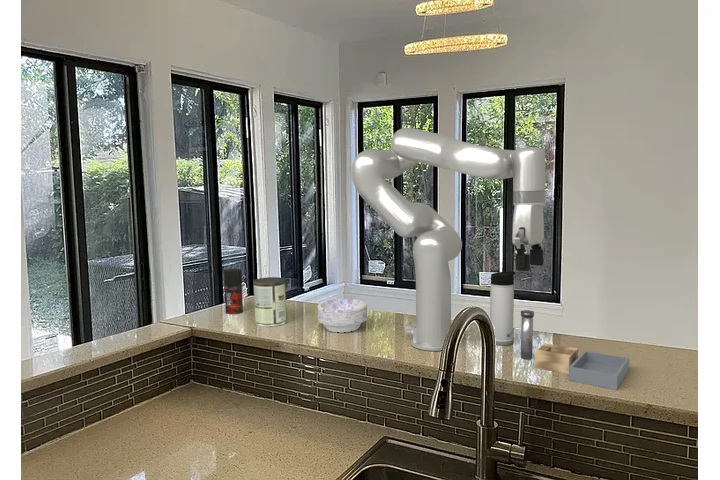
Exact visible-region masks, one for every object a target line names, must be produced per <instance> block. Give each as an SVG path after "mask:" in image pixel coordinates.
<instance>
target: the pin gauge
mask: <svg viewBox="0 0 720 480" xmlns="http://www.w3.org/2000/svg"><path fill="white" fill-rule="evenodd" d="M520 316H521V328H520V329H521V330H520V331H521V332H520V334H521V335H520V359H522V360H525V361H526V360H527V361H528V360H529V361H530V360H533V349H534V347H533V341H534V340H533V339H534V337H533V336H534V317H535V312H534V310H528V309H526V310H525V309H524V310H523V309H522V310H520Z"/></svg>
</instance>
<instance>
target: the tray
mask: <svg viewBox="0 0 720 480" xmlns="http://www.w3.org/2000/svg"><path fill="white" fill-rule="evenodd" d="M629 372H630V357H625V356H624V357H623V356H620V355H619V356H618V355H614V354H613V355H612V354H607V353H602V352H594V351H589V350H584V351H583V352H582V353H581V354H580V355H578V358H577V359H576V360H575V361H574V362H573V363H572V364H571V365H570V366H569V374H568V381H570V382H575V383H580V384H585V385H589V386H595V387H598V388H604V389H610V390H615V391H617V390H618V388H619V387H620V386H621V384H622V383H623V380H625V378H626V377H627V374H629Z"/></svg>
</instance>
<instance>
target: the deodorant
mask: <svg viewBox="0 0 720 480" xmlns="http://www.w3.org/2000/svg"><path fill="white" fill-rule="evenodd" d="M242 276H243V275H242V269H241V268H228V269H224V270H223V277H224V278H223V279H224V280H223V282H224V301H225V302H224V304H225V306H224V307H225V314H227V315H239V314H243V312H244V304H243V303H244V302H243V301H244V300H243V299H244V298H243V281H242V280H243V277H242Z"/></svg>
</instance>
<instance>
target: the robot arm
mask: <svg viewBox="0 0 720 480" xmlns="http://www.w3.org/2000/svg"><path fill="white" fill-rule="evenodd" d="M390 145H391V147H390V148H388V149H385V150H384V149H365V150H362V151H361V152H359V153H358V154H357V155H356V157H355V158H354V159H353V163H352V167H351V178H352V183H353V186H354V188H355V190H356V192H357V193H358V194H359V196H360V197H361V198H362V199H363V200H364V201H365V202H366V203H367V204H368V205H369V206H370V207H371V208H372V209H373V210H374V211H375V212H376V213H377V215H378V216H379V217H380V218H381V219H382V220H383V221H384V222H385V223H386V224H387V225H388V226H389V227H390V228H391V229H392V230H393V232H394V233H396V234H397V235H398V236H399V237H401V238H412V237H416V240H415V241H414V243H413V247H412V257H413V263H414V271H415V326H414V325H410V324H407V325H406V326H405V328H404V329H405V330H404V333H405V334H408V335H411V336H412V337H411V339H410V345H411V346H412V348H416V349H419V350H422V351H433V352H439V351H440V352H442V351H441V349H442V344H443V341H444V338H445V336H446V334H447V332H448V330H449V327H450V325H451V326H452V279H451V271H450V265H449V262H450V261H453V260H454V259H456V258H457V257H458V256H459V255H460V254H461V251H462V247H463V241H462V238H461V236H460V235H459V233H458V232H457V231H456V230H455V229H454V228H453V226H451V224H449V223H448V222H447V221H446V219H444V218H443V217H442V216H441V215H440V214H439V213H438V212H437V211H436V210H435V209H434V208H433V207H432V206H430V205H428V204H427V203H424V202H411V201H410V200H408V199H407V198H406V197H404V195H402V194H401V192H399V190H397V189H396V188H395V187H394V186H393V185H392V184H390V183H389V182H388V181H387V180H393V179H395V178H397V177H399V176H401V175H402V174H404V173H405V172H407V171H408V170H410V169H412V168H413V167H415V166H417V164H419V163H420V164H421V163H422V164H425V165H429V166H433V167H436V168H439V169H443V170H446V171H447V170H450V171H453V172H457V173H460V174H464V175H468V176H471V177H475V178H479V179H480V178H481V179H485V180H506V179H510V178H513V179H512V185H513V186H512V187H513V188H512V189H513V190H512V191H513V192H512V193H513V195H512V198H513V203H512V204H513V206H514V209H513V217H512V235H511V236H512V237H511V238H512V240H511V241H512V244H513V245H514V248H515V253H514V254H515V270H516V271H519V272H530V270H531V266H543V265H544V244H543V243H544V239H545V238H544V236H545V221H544V206H543V205H546V152H545V149H544V148H542V147H537V146H535V147H521V148H517V149H514V150H513V149H502V148H497V147H490V146H484V145H479V144H474V143H470V142H466V141H461V140H458V139H456V137H454V136H451V135H446V134H441V133H435V132H431V131H427V130H423V129H419V128H413V127H402V128H400V129H398V130H397V131H395V132H394V133H393V135H392V138H391V141H390Z"/></svg>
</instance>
